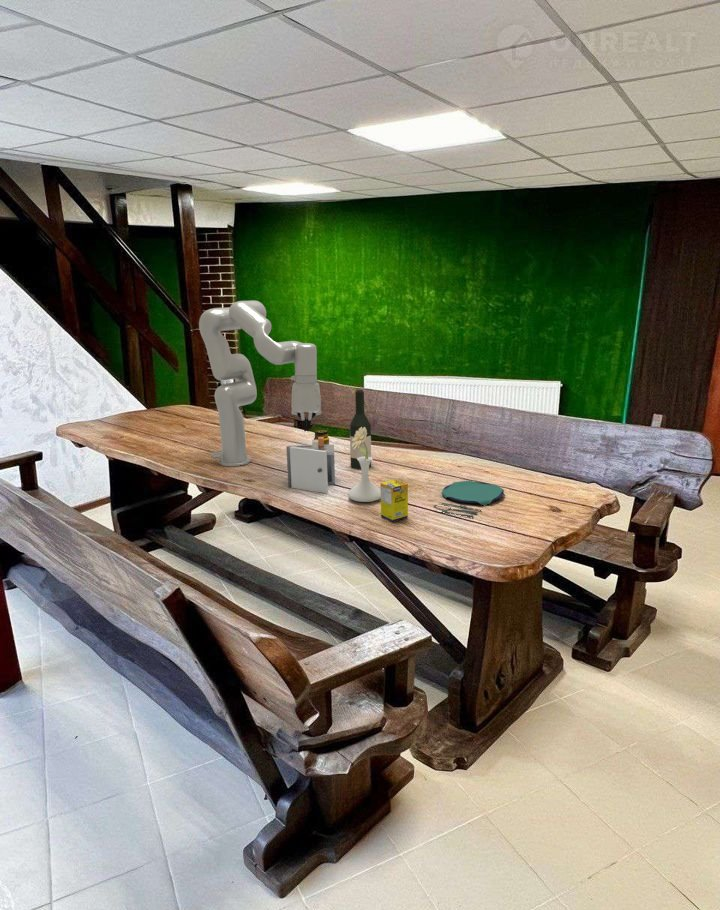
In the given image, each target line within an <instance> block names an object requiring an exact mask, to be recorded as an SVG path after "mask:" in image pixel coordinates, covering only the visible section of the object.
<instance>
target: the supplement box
mask: <svg viewBox="0 0 720 910" xmlns="http://www.w3.org/2000/svg"><path fill="white" fill-rule="evenodd" d="M380 490H381V498H380V517H381V516H382V517H381V518H383V517H384V518H383V519H385V518H386V519H385V520H387V519H388V521H389V520H390V522H392V521H395V522H398V521H397V520H399V521H401V520H400V519H402V520H404V519H403V518H406V519H408V518H409V510H408V508H409V502H408V501H409V496H408V495H409V493H408V492H409V484H408V483H406V482H404V481H401V480H398V479H395V478H394V479H391V480H386V481H383V482H380ZM407 517H408V518H407Z"/></svg>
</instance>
